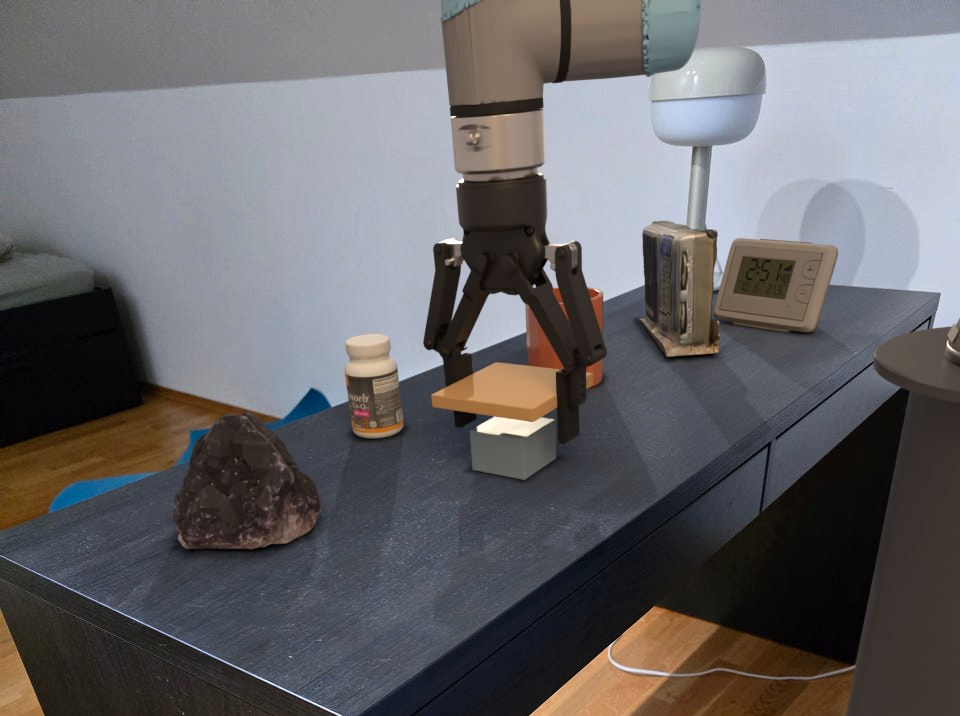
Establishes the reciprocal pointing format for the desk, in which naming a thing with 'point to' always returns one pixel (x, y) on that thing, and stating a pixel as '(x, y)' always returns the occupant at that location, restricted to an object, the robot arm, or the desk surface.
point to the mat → (504, 392)
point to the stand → (513, 446)
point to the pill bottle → (373, 387)
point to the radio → (680, 288)
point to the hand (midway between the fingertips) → (515, 430)
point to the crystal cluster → (243, 489)
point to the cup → (541, 348)
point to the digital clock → (775, 284)
